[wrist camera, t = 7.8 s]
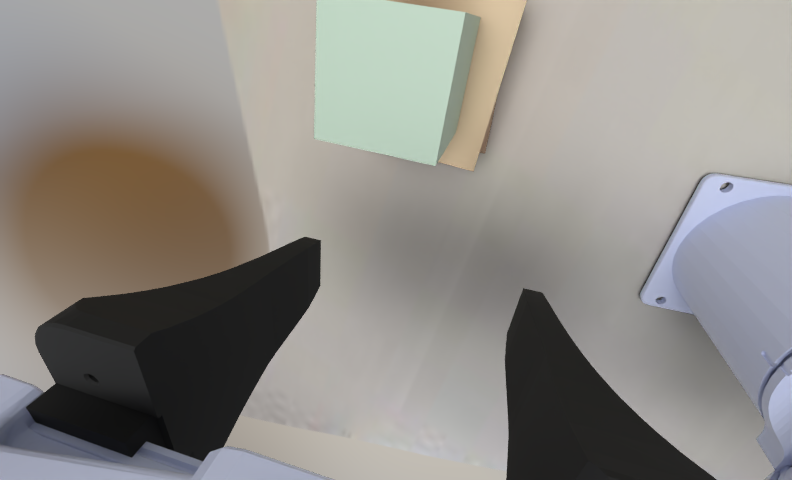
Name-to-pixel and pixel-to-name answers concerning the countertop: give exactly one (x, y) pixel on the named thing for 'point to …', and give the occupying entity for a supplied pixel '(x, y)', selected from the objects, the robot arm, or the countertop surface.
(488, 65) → the tower top
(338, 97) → the sage block
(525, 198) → the countertop surface
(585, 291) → the countertop surface
